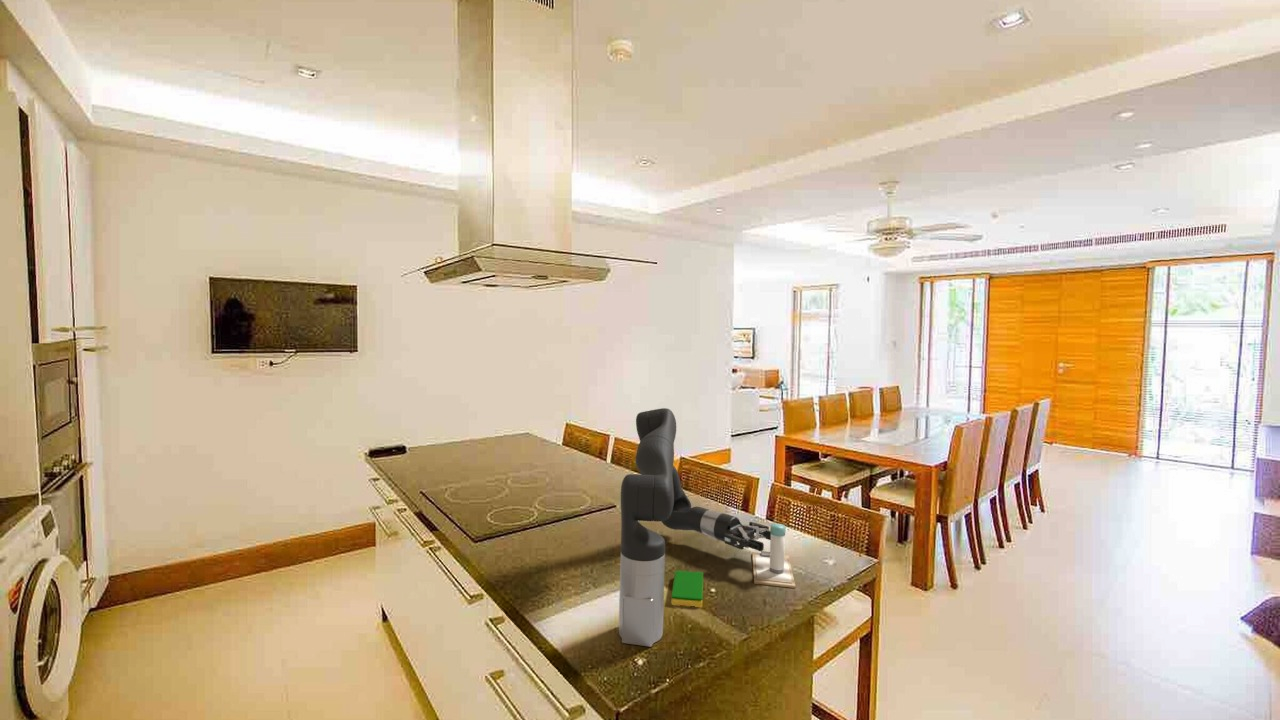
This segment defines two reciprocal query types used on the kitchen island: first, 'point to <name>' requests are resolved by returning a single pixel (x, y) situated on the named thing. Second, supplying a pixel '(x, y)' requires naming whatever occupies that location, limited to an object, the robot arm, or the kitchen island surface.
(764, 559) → the clipboard
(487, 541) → the kitchen island surface
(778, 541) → the bottle
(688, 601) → the dish sponge
